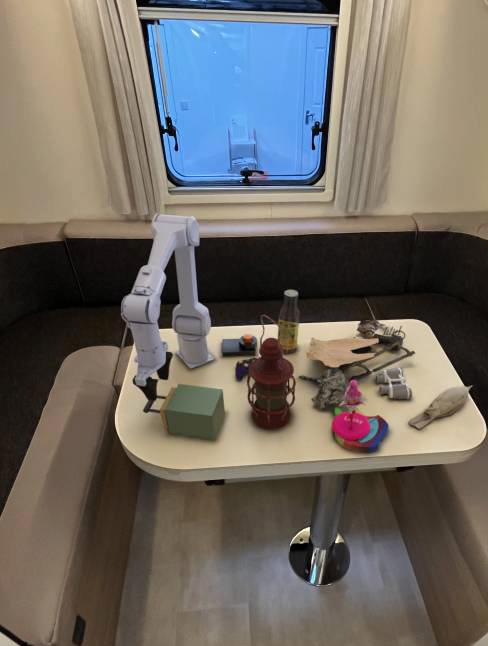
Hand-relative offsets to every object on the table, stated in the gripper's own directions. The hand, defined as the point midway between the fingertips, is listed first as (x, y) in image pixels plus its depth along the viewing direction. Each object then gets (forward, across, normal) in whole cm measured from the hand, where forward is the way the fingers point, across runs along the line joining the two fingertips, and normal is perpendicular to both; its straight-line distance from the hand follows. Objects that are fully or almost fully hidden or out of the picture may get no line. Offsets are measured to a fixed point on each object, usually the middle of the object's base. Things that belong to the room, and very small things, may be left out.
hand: (158, 389), depth 107 cm
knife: (+10, -23, +42) cm, 49 cm away
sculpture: (+6, -16, +73) cm, 75 cm away
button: (+7, -34, +15) cm, 37 cm away
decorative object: (+9, -2, +56) cm, 57 cm away
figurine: (+8, -4, +48) cm, 49 cm away
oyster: (+4, -49, +54) cm, 73 cm away
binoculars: (+11, -24, +59) cm, 64 cm away
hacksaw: (+9, -30, +57) cm, 65 cm away
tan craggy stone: (+5, -30, +45) cm, 54 cm away
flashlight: (+11, -48, +54) cm, 73 cm away
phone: (+10, -30, +40) cm, 51 cm away
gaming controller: (+11, -23, +18) cm, 31 cm away
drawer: (+10, 0, +4) cm, 10 cm away
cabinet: (+10, 0, +9) cm, 14 cm away
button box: (+10, -33, +12) cm, 36 cm away
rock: (+10, -16, +37) cm, 41 cm away
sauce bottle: (+11, -36, +27) cm, 46 cm away
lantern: (+11, -6, +27) cm, 30 cm away
